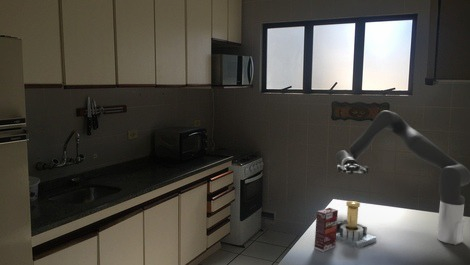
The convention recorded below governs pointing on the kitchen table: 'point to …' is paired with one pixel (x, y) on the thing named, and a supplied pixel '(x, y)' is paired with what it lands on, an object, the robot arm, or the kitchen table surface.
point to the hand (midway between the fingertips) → (354, 171)
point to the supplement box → (326, 229)
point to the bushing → (352, 214)
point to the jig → (353, 235)
